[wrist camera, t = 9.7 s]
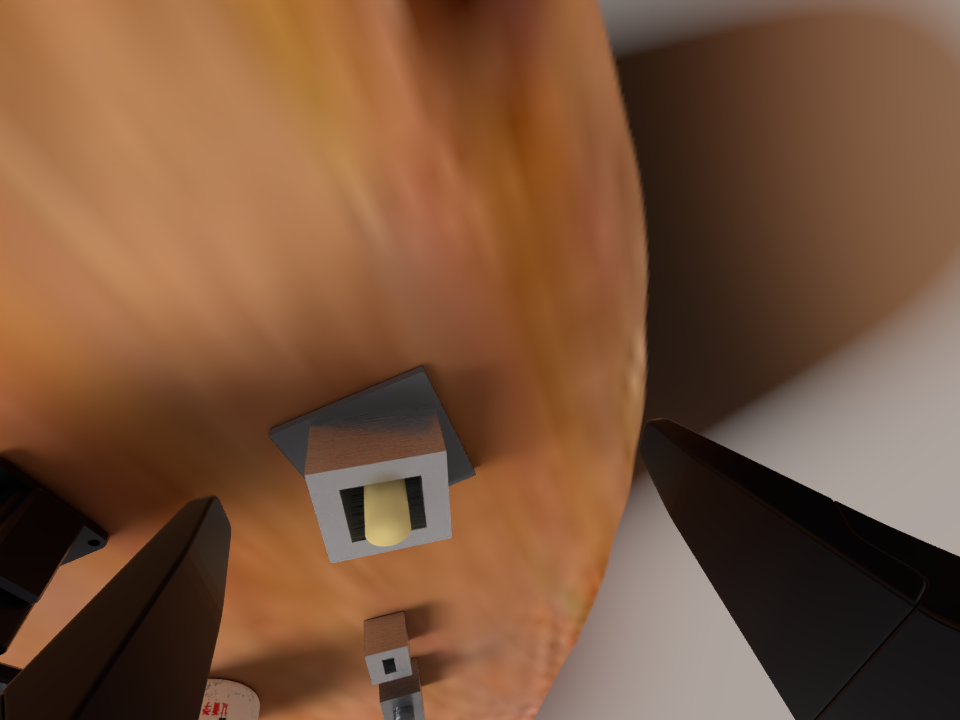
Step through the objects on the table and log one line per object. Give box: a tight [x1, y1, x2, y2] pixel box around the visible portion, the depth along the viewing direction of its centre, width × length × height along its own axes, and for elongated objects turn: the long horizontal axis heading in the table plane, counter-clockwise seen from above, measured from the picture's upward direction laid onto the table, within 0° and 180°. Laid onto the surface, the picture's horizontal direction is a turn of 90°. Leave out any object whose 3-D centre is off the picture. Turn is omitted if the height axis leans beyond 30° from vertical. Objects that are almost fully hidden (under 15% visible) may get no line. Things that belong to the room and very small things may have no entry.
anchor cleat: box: [379, 658, 425, 720], centre depth 35 cm, size 5×3×5 cm, turn 1°
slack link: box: [364, 611, 412, 685], centre depth 32 cm, size 4×3×2 cm
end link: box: [304, 404, 452, 563], centre depth 22 cm, size 6×6×4 cm
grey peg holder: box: [269, 366, 476, 547], centre depth 22 cm, size 8×8×5 cm
